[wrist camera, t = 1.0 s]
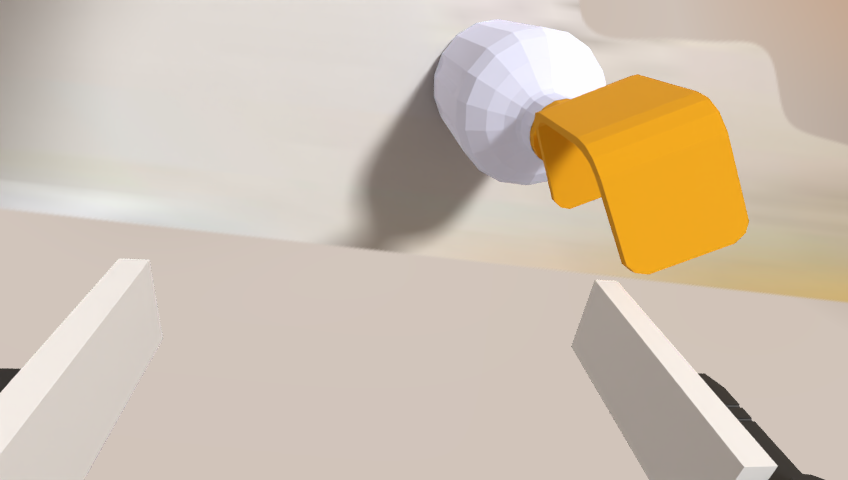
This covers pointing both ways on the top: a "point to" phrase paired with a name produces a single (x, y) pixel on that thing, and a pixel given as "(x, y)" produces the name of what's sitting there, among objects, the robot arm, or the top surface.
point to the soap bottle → (594, 139)
